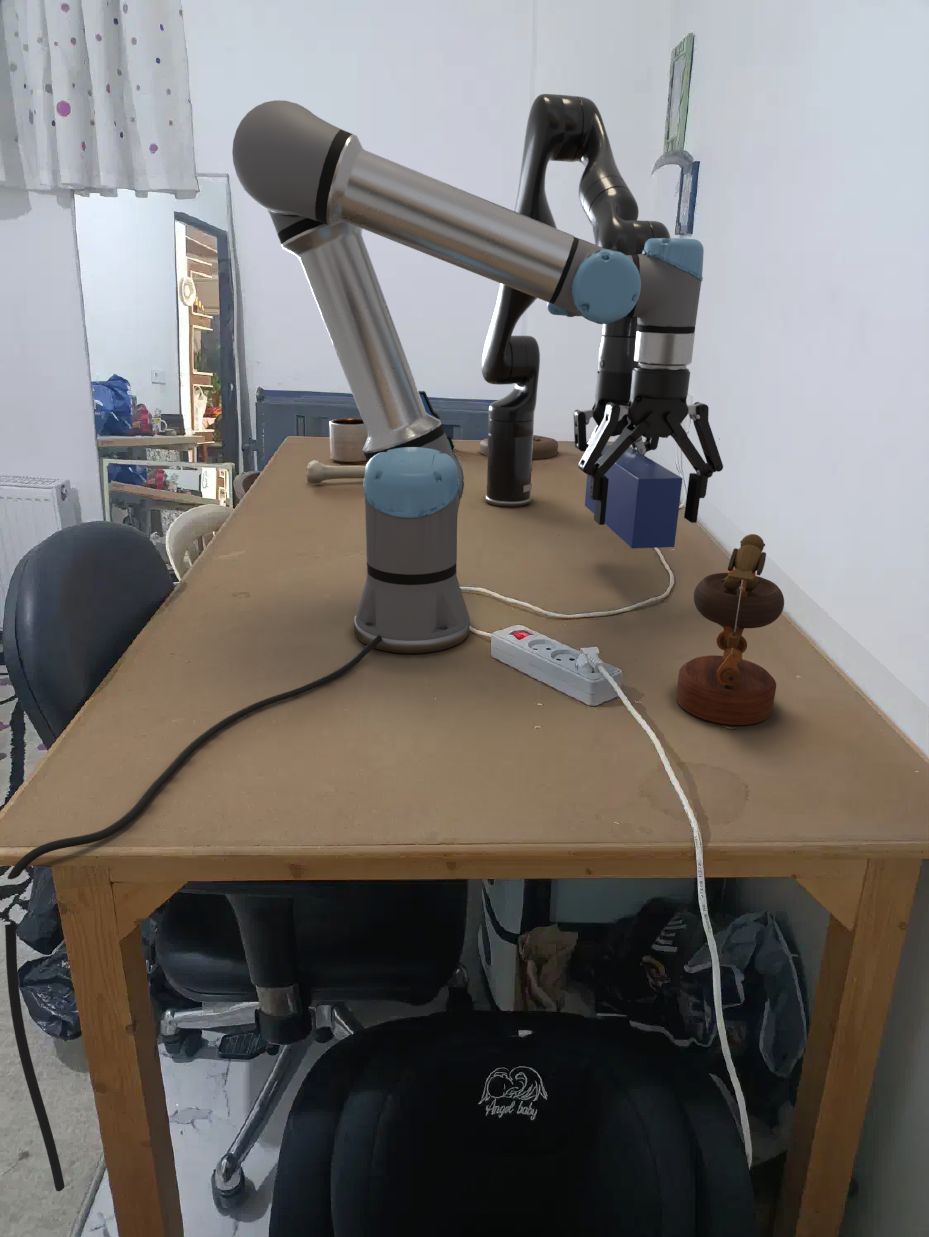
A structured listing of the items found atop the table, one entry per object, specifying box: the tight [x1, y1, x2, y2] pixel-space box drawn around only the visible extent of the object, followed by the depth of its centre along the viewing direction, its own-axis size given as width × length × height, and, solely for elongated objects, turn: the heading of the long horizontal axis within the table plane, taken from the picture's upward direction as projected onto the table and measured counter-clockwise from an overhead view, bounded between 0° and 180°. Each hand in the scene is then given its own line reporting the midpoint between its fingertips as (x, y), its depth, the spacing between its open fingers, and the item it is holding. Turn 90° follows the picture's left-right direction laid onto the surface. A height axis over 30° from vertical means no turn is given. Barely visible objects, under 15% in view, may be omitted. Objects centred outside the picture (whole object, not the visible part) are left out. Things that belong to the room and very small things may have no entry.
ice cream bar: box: [479, 434, 559, 460], centre depth 219 cm, size 21×28×4 cm
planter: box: [328, 417, 368, 464], centre depth 212 cm, size 11×11×10 cm
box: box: [584, 444, 684, 549], centre depth 126 cm, size 23×6×10 cm, turn 9°
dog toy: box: [305, 459, 366, 484], centre depth 190 cm, size 20×6×5 cm, turn 99°
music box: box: [675, 533, 785, 726], centre depth 92 cm, size 15×11×20 cm
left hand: (645, 521), depth 120 cm, fingers open, 13 cm apart
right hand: (613, 477), depth 133 cm, fingers closed on box, 6 cm apart
